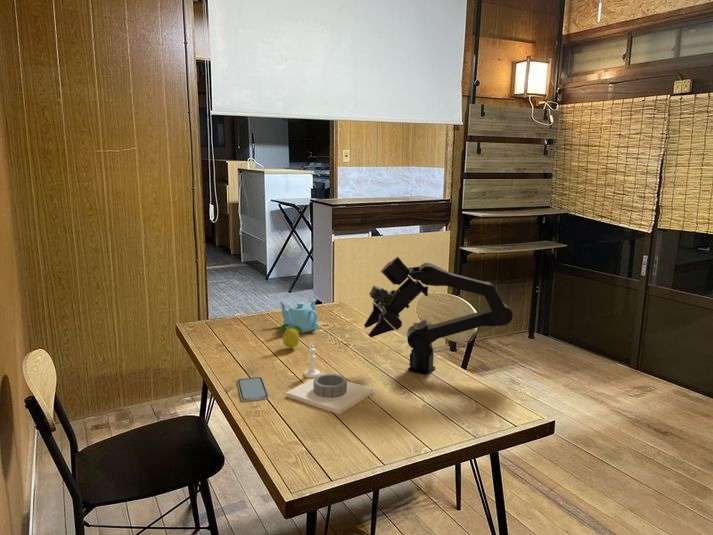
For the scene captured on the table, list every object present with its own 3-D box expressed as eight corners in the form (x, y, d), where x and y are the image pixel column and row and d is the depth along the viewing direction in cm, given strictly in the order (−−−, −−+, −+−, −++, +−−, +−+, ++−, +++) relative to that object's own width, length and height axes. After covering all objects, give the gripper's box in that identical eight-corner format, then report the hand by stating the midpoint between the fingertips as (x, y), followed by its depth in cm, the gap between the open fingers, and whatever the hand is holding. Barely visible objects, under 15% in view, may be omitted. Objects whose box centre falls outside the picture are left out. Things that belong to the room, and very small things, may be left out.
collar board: (373, 392, 148) (373, 378, 148) (339, 414, 136) (339, 399, 135) (322, 377, 158) (322, 364, 158) (286, 396, 146) (286, 382, 145)
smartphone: (261, 376, 158) (269, 397, 144) (261, 379, 158) (269, 400, 144) (236, 379, 156) (241, 400, 142) (236, 381, 156) (241, 403, 142)
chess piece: (311, 370, 164) (311, 339, 162) (323, 374, 161) (323, 342, 159) (300, 374, 160) (300, 343, 158) (312, 379, 157) (312, 347, 155)
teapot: (322, 334, 199) (322, 307, 197) (281, 336, 196) (281, 309, 194) (316, 322, 213) (316, 297, 211) (278, 324, 210) (278, 299, 208)
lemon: (278, 351, 180) (278, 322, 178) (284, 345, 186) (284, 317, 184) (297, 352, 179) (296, 324, 177) (303, 347, 184) (302, 319, 182)
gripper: (380, 271, 168) (345, 305, 169) (392, 284, 150) (352, 322, 151) (404, 294, 170) (369, 328, 171) (418, 311, 152) (379, 348, 153)
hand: (367, 331), depth 161 cm, fingers open, 9 cm apart
